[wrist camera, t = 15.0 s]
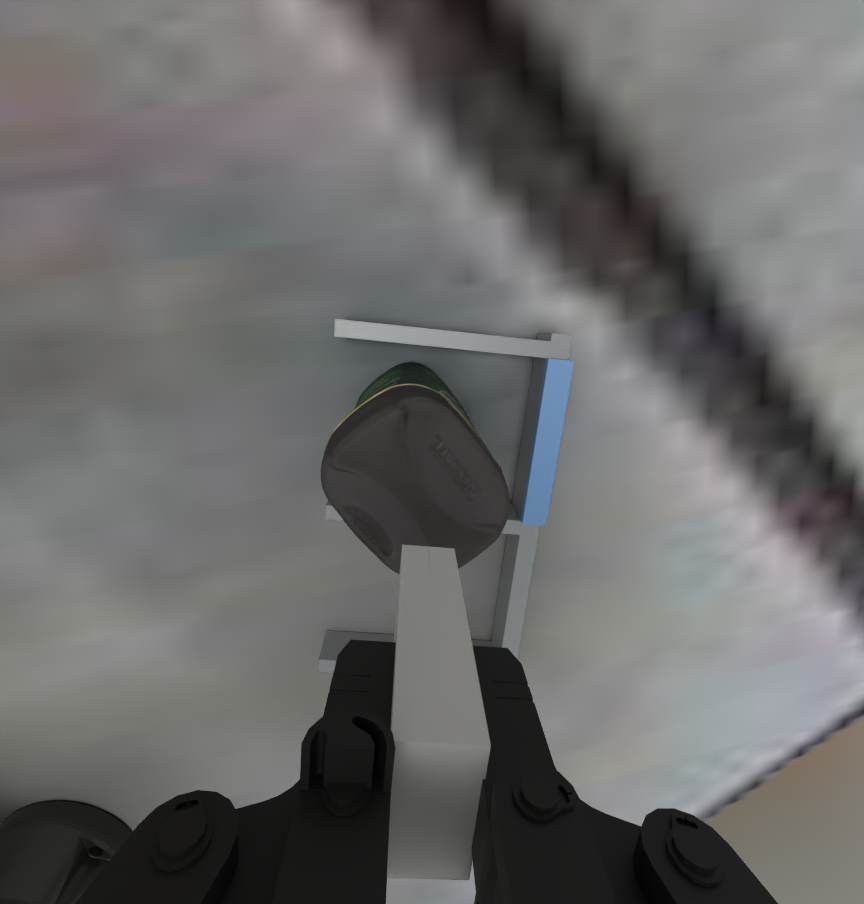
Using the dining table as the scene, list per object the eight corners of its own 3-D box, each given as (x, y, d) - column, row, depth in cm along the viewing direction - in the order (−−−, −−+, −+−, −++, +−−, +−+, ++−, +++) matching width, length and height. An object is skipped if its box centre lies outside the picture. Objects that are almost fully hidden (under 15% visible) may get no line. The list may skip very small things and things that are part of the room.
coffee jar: (341, 406, 38) (276, 471, 20) (416, 346, 37) (419, 358, 19) (413, 493, 40) (413, 623, 22) (487, 439, 39) (549, 528, 21)
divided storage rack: (326, 646, 44) (316, 683, 39) (343, 312, 36) (333, 309, 32) (508, 658, 45) (519, 694, 40) (562, 335, 37) (582, 335, 33)
